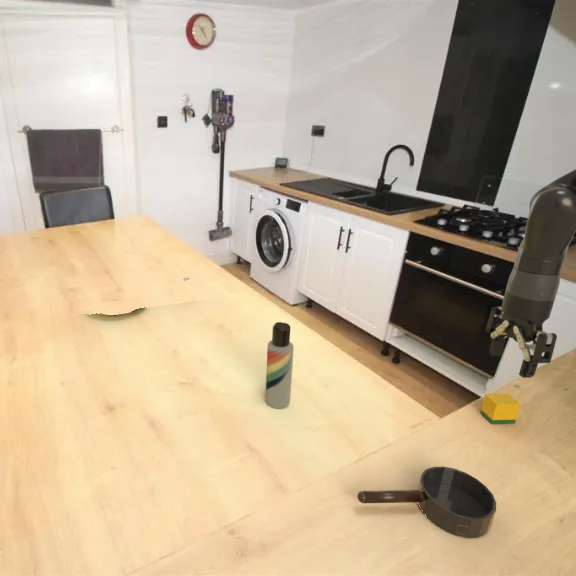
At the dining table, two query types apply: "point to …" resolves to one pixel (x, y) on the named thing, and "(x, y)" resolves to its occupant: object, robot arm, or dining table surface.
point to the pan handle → (391, 496)
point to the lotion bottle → (279, 367)
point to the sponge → (500, 408)
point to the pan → (457, 502)
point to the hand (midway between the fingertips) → (509, 365)
